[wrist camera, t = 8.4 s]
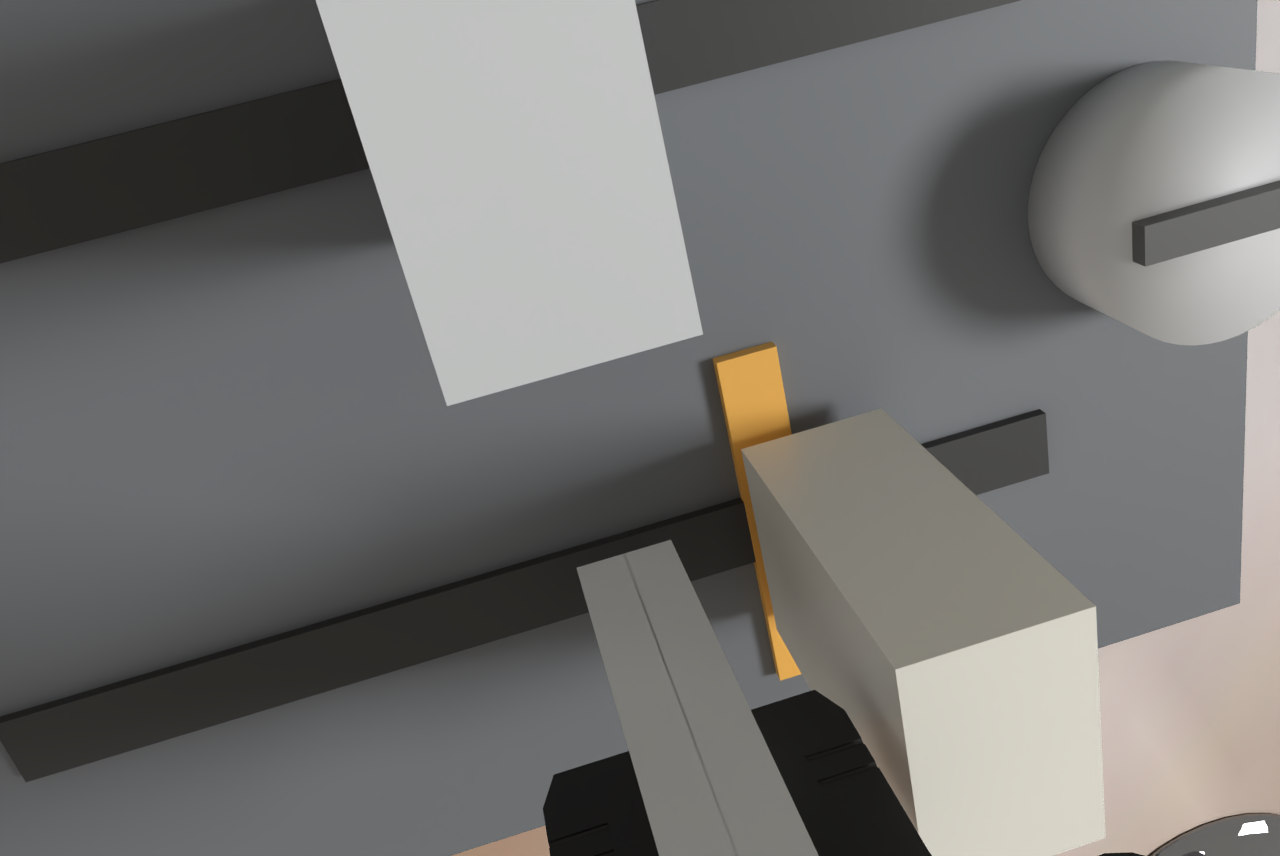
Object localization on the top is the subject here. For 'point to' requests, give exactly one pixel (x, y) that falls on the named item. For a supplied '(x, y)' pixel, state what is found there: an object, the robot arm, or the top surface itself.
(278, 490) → the console
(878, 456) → the fader
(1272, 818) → the wine glass
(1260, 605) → the top surface
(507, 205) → the fader
